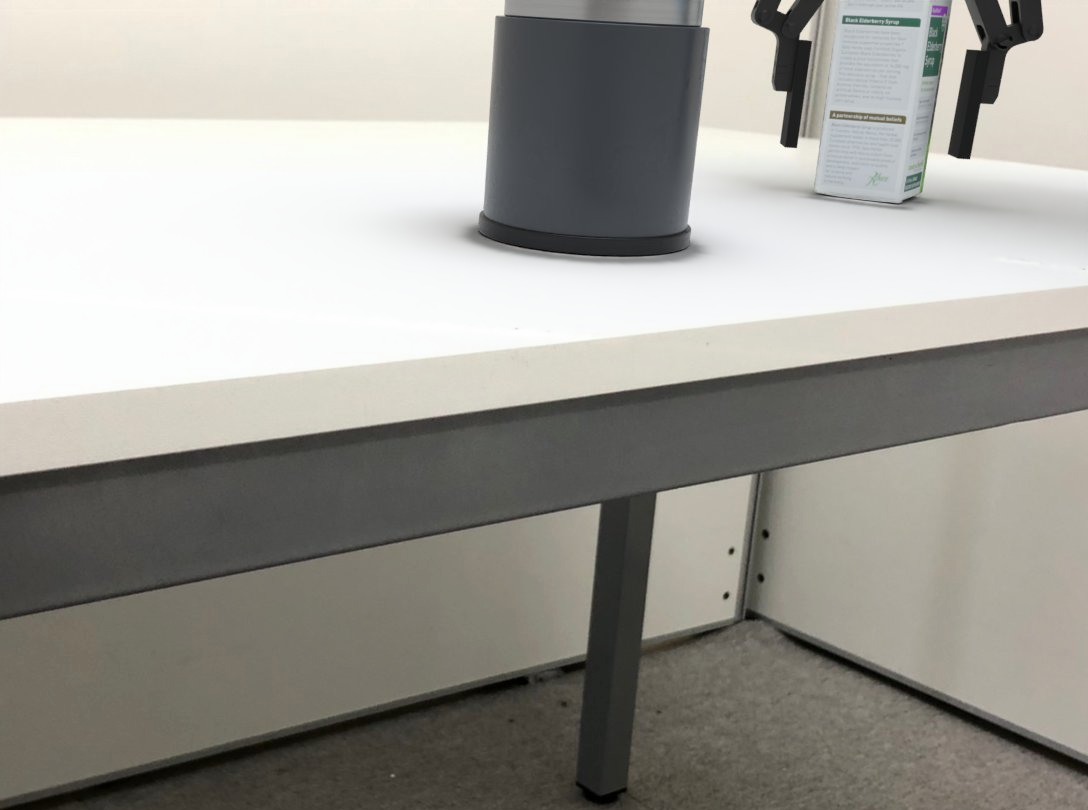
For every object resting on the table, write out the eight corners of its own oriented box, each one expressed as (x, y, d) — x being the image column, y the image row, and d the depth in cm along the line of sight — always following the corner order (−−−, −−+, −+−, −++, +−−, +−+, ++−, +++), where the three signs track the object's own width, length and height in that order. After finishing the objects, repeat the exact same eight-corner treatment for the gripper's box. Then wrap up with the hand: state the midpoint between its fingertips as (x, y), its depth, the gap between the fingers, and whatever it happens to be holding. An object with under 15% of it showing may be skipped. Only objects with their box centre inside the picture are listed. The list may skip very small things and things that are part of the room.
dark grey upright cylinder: (683, 226, 69) (711, -17, 65) (695, 262, 59) (729, -21, 55) (487, 212, 70) (502, -28, 66) (467, 246, 60) (484, -34, 56)
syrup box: (901, 204, 82) (944, -46, 77) (808, 193, 84) (844, -49, 79) (922, 196, 86) (964, -41, 81) (833, 185, 89) (868, -44, 84)
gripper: (1113, -219, 79) (1036, 156, 87) (734, -234, 81) (692, 134, 89) (1161, -241, 72) (1073, 169, 80) (746, -256, 74) (699, 145, 82)
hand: (872, 151), depth 84 cm, fingers open, 10 cm apart
